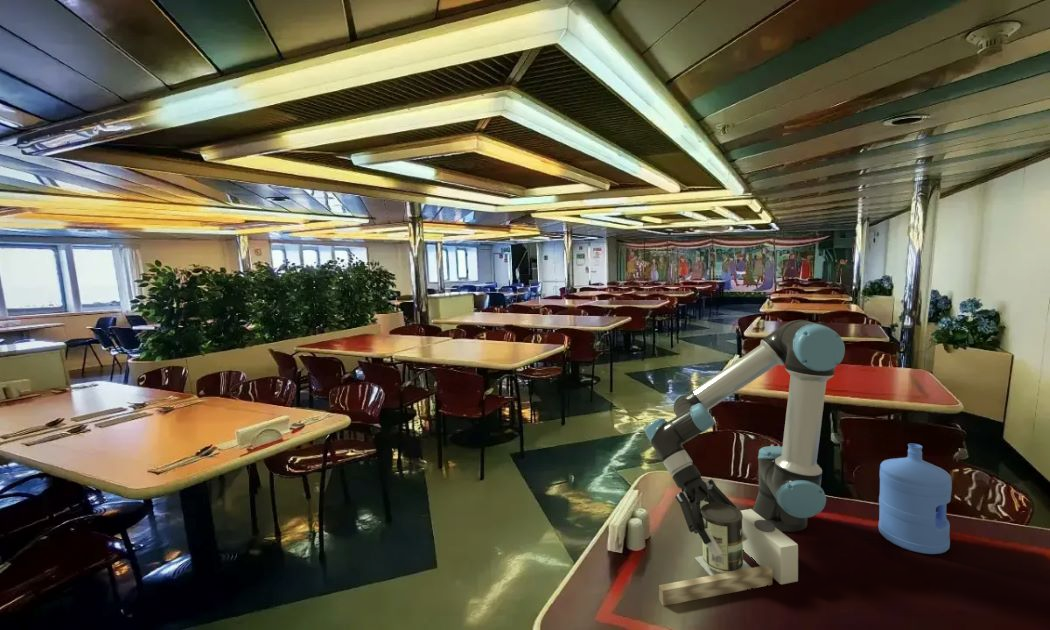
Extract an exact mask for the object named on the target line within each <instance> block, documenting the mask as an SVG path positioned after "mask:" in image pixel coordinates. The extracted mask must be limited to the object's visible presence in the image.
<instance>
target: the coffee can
mask: <svg viewBox="0 0 1050 630" xmlns="http://www.w3.org/2000/svg"><path fill="white" fill-rule="evenodd" d="M700 508H701V514H702V518H703V524H704V529H706V528H708V530H709V531H710V533H711V534H712V536H713V538H714V539H715V541H716V542H717V544H718V546H719V547H720V549H721V550H722V552H723V553H722V554H720V555H718V556H716V557H714V555H713V553H712V552H711V550H710V548H709V547H708V545H707V544H705V543H704V542H703V540H702V539H701V541H702V543H701V544H702V556H703V561H704V563H705V564H706V565H707V566H708V567H709V568H711V569H713V570H715V571H717V572H721V573H727V572H732V571H738V570H742V568H743V560H744V555H743V554H744V551H743V540H742V519H743V515H742V513H741V510H740V509H739V508H737V506H736V507H734V506H731V505H728V504H724V503H708V502H707V503H705V504H703V505H702V506H700Z"/></svg>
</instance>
